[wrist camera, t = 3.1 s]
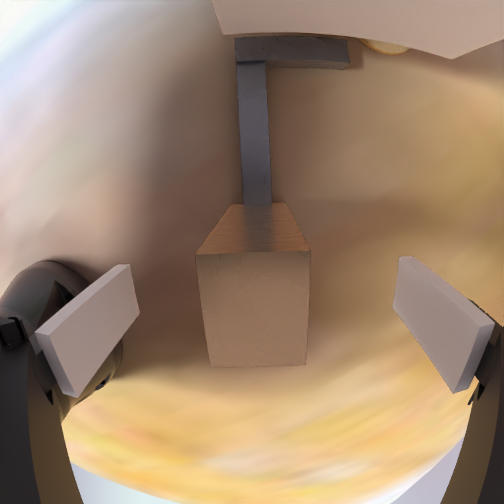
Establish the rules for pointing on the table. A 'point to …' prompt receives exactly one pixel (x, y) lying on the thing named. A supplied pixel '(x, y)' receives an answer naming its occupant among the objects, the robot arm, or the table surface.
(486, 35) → the cabinet
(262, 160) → the hook tool
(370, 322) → the table surface
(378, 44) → the brass token
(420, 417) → the table surface
